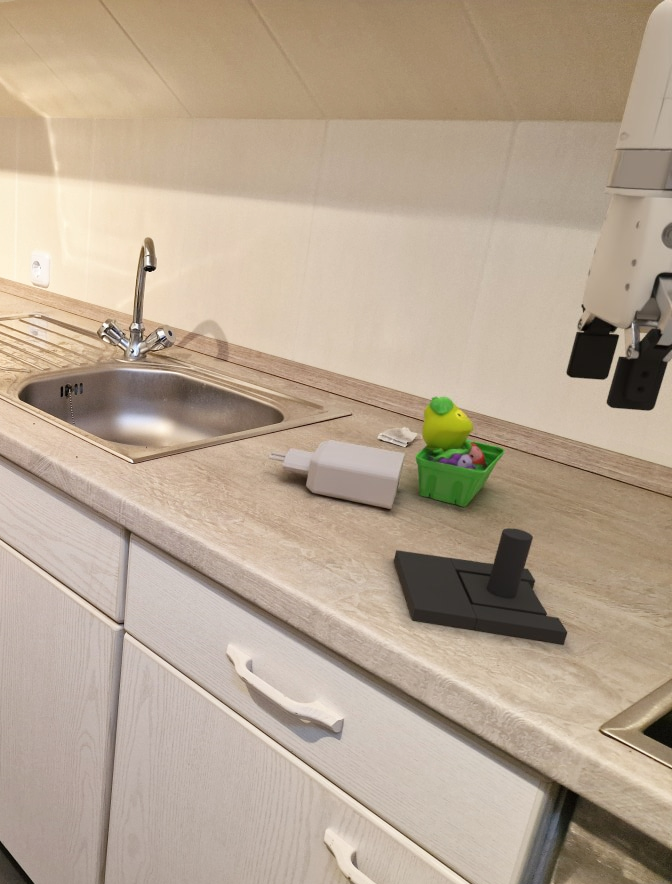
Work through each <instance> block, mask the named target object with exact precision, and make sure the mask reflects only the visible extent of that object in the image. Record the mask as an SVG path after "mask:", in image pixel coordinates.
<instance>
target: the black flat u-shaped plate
mask: <svg viewBox="0 0 672 884" xmlns="http://www.w3.org/2000/svg"><path fill="white" fill-rule="evenodd" d="M393 563H394V565H395V569H396V572H397V575H398V579H399V582H400V585H401V589H402V592H403V595H404V598H405V601H406V604H407V608H408V610H409V614H410V617H411V620H412V621H416V622H422V623H429V624H435V625H441V626H447V627H451V628H452V627H453V628H459V629H466V630H471V631H478V632H483V633H489V634H496V635H503V636H508V637H509V636H510V637H515V638H521V639H528V640H533V641H541V642H546V643H553V644H558V645H559V644H560V645H565V642H566V639H567V636H568V633H569V632H568V630H567V629H566V628H565V626H564V624H563V623H562V621H561V620H560V618H559V617H555V616H550V615H547V616H544V615H537V614H531V613H524V612H518V611H511V610H505V609H498V608H491V607H485V606H478V605H471V604H470V602H469V599H468V597H467V595H466V593H465V590H464V588H463V586H462V584H461V582H460V579H459V577H458V575H459V572H462V573H469V574H476V575H483V576H490V574H491V571H492V567H493V564H494V563H489V562H482V561H475V560H469V559H461V558H453V557H446V556H439V555H433V554H425V553H419V552H411V551H404V550H399V549H398V550H395V554H394V558H393ZM521 581H524V582H528V583H529V584H530V586H531V588H532V589H534V586H535V583H536V579H535V577H534V576H533V575H532V573H531V572H530V570H529V569H528V568H525V567H524V570H523V574H522V577H521Z"/></svg>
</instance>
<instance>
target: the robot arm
mask: <svg viewBox="0 0 672 884" xmlns="http://www.w3.org/2000/svg"><path fill="white" fill-rule="evenodd" d="M642 36H643V37H642V41H641V45H640V48H639V52H638V56H637V59H636V63H635V67H634V68H635V69H634V71H633V75H632V80H631V84H630V88H629V91H628V96H627V100H626V103H625V107H624V111H623V116H622V120H621V124H620V127H619V131H618V136H617V139H616V143H615V147H614V148H615V149H614V151H613V155H612V158H611V163H610V167H609V171H608V175H607V178H606V183H605V187H604V189H603V190H604V191H603V194H604V195H611V196H612V197H611V200H610V202H609V206H608V209H607V212H606V213H605V217H604V220H603V223H602V225H601V229H600V231H599V234H598V239H597V240H596V241H597V242H596V244H595V248H594V250H593V255H592V258H591V261H590V265H589V269H588V273H587V277H586V280H585V286H584V291H583V296H582V303H581V308H582V313H581V315H580V317H579V319H578V321H577V324H576V330H577V331H576V333H575V336H574V340H573V345H572V349H571V352H570V356H569V360H568V364H567V367H566V375H567V376H568V377H569V378H573V379H585V380H586V379H587V380H599V381H601V380H602V381H604V380H606V379H608V377H609V374H610V371H611V368H612V364H613V360H614V358H615V357H614V356H615V353H616V349H617V346H618V342H619V338H620V335H619V334H617V333H616V332H617V330H618V329H620V330H621V329H622V330H624V350H625V356H620V355H619V356H618V359H617V361H616V366H615V369H614V373H613V376H612V380H611V382H610V383H611V384H610V387H609V391H608V394H607V398H606V401H605V402H606V403H605V404H607V406H608V407H610V408H612V409H621V410H635V411H645V412H647V411H648V412H649V411H652V410H654V408H655V407H656V404H657V400H658V397H659V394H660V390H661V387H662V384H663V380H664V376H665V374H666V370H667V367H668V365H669V362H671V361H672V0H663V1H662V2H660V3H658V4H657V5H656V6H655V8H654V9H653V10H652V12H651V13H650V15H649V17H648V20H647V23H646V26H645V29H644V33H643V35H642ZM641 334H645V335H644V337H642V339H641Z"/></svg>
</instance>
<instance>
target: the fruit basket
mask: <svg viewBox="0 0 672 884" xmlns="http://www.w3.org/2000/svg"><path fill="white" fill-rule="evenodd" d="M423 416H424V417H423V418H424V419H423V424H422V430H421V431H422V432H421V433H422V439H423V441H424V443H425V444H426V445H425V446H424V447H423V448H422V449H421V450H419V452H417V453H416V454H415V461H416V464H417V473H418V474H417V475H418V491H419V496H421V497H425V498H430V499H432V500H434V501H439V502H443V503H448V504H451V505H456V506H459V507H462V508H465V507H467V505H468V504H469V503H470V502H471V501H472V500H473V499H474V497H475V496H476V495H478V493H479V492H480V490H481V489H482V488H483V487H484V486H485V484H486V483H487V480H488V479H489V477H490V476H491V474H492V472H493V470H494V469H495V466H496V465H497V464H498V462H499V461H500V460H501V458H502V457H503V455H504V454H505V452H506V449H504V448H502V447H500V446H496V445H492V444H487V443H483V442H478V441H473V440H471V439H467V438H468V437H469V435H470V434H471V433H472V432H473V431H474V424H473V422H472V420H471V419H470V418H469V417H468V416H467V414H466V413H465V412H464V411H462V410H461V409H460V408H459V407H458V406H457V405H456V404H455V403H454V401H453V400H452V399H451V398H449V397H447V396H440V397H438V396H433V397H431V400H430V402H429V403H428V404H427V405H426V406H425V408H424V410H423Z"/></svg>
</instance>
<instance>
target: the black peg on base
mask: <svg viewBox="0 0 672 884" xmlns="http://www.w3.org/2000/svg"><path fill="white" fill-rule="evenodd" d="M533 539H534V537H533V535H532V534H531V533H529V532H527V531H525V530H522V529H518V528H510V527H508V528H504V529H502V531H501V535H500V538H499V543H498V546H497V549H496V553H495V556H494V560H493V563H492V564H493V567H492V571H491V574H490V576H483V575H476V574H469V573H462V572H459V575H458V577H459V579H460V582H461V584H462V586H463V588H464V590H465V593H466V595H467V597H468V599H469V602H470V604H471V605H478V606H485V607H491V608H498V609H505V610H511V611H518V612H524V613H531V614H537V615H544V616H548V612H547V610H546V609H545V607H544V606H543V604H542V603H541V601H540V599H539V597H538V595H537V594H536V592H535V591H534V590H533V589H534V588H533V589H532V588H531V586H530V584H529V583H528V582H524V581H521V577H522V574H523V570H524V568H525V566H526V563H527V559H528V556H529V553H530V549H531V547H532V542H533Z"/></svg>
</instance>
